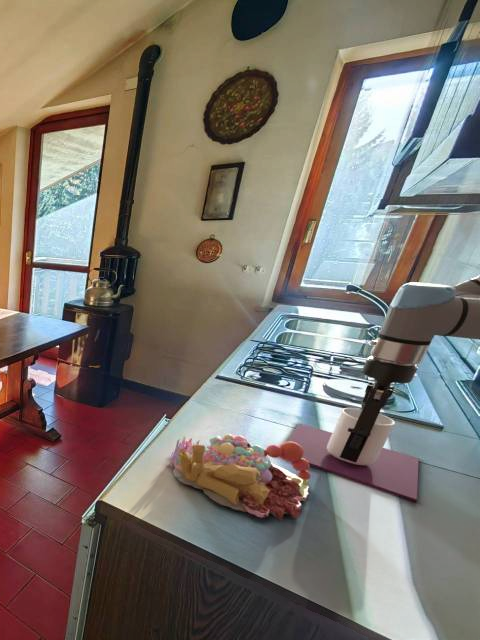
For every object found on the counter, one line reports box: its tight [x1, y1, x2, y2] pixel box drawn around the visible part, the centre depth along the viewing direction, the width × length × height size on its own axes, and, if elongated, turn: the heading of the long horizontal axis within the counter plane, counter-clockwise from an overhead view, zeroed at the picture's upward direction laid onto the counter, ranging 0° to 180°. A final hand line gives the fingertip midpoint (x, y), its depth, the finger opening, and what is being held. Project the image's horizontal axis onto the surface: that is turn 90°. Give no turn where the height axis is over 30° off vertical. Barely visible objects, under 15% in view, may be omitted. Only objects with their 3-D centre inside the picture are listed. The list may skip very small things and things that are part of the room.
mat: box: [286, 423, 420, 503], centre depth 90 cm, size 22×22×1 cm
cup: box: [327, 407, 396, 466], centre depth 87 cm, size 8×12×10 cm
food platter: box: [169, 433, 312, 522], centre depth 79 cm, size 25×24×9 cm
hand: (351, 449), depth 89 cm, fingers closed on cup, 12 cm apart
